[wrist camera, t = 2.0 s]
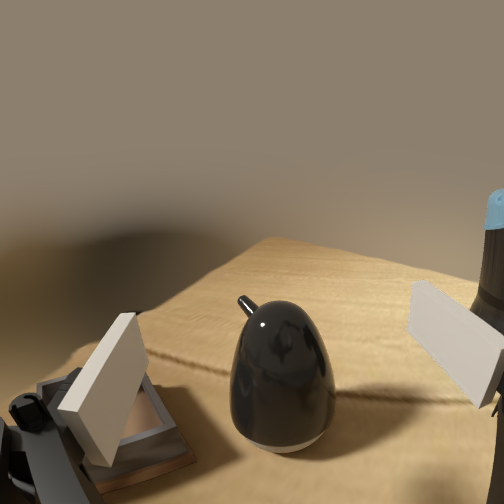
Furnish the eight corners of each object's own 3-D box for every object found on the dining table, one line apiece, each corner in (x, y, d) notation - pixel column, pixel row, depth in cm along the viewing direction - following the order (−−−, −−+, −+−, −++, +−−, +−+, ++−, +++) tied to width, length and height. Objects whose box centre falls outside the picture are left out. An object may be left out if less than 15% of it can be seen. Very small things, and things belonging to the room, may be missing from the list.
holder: (150, 384, 37) (138, 351, 35) (196, 461, 25) (183, 427, 23) (51, 414, 29) (34, 382, 28) (64, 502, 17) (35, 471, 16)
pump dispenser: (288, 386, 35) (281, 271, 31) (353, 428, 27) (368, 299, 23) (216, 425, 30) (188, 303, 25) (277, 485, 21) (265, 357, 17)
